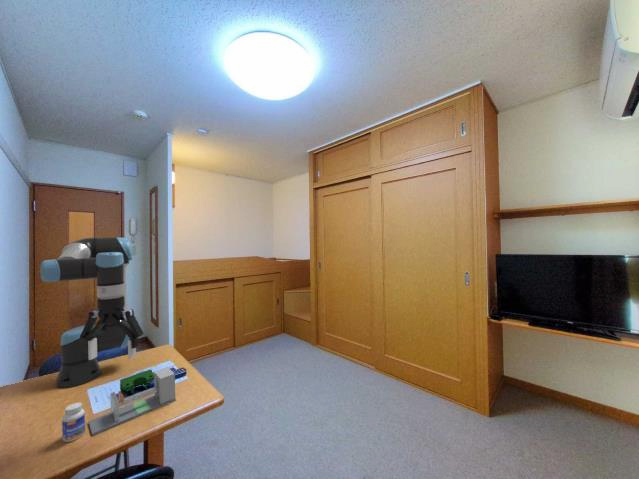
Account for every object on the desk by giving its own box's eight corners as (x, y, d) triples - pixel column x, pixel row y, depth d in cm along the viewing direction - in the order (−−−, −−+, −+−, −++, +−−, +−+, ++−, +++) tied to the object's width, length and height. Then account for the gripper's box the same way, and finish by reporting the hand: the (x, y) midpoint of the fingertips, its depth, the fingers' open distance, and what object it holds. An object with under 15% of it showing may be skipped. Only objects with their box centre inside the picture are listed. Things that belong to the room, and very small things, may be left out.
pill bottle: (65, 445, 82) (65, 414, 82) (60, 438, 85) (59, 408, 85) (88, 434, 87) (87, 404, 87) (81, 427, 90) (81, 399, 90)
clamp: (128, 405, 109) (118, 391, 105) (125, 396, 113) (115, 382, 109) (159, 383, 116) (151, 370, 112) (155, 376, 120) (146, 362, 116)
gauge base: (88, 423, 92) (87, 393, 92) (168, 391, 110) (167, 366, 110) (92, 436, 86) (91, 404, 86) (175, 400, 104) (175, 374, 104)
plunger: (110, 412, 96) (110, 393, 96) (155, 395, 106) (155, 377, 106) (114, 421, 91) (114, 401, 91) (161, 402, 101) (160, 383, 101)
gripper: (64, 300, 88) (66, 363, 89) (139, 298, 88) (141, 362, 89) (84, 295, 96) (86, 353, 96) (153, 293, 96) (155, 352, 96)
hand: (112, 357), depth 92 cm, fingers open, 13 cm apart
